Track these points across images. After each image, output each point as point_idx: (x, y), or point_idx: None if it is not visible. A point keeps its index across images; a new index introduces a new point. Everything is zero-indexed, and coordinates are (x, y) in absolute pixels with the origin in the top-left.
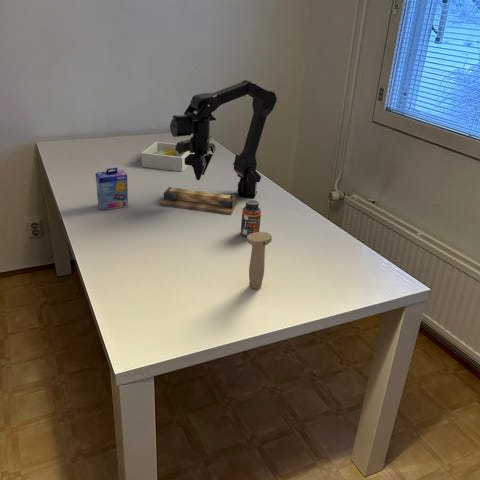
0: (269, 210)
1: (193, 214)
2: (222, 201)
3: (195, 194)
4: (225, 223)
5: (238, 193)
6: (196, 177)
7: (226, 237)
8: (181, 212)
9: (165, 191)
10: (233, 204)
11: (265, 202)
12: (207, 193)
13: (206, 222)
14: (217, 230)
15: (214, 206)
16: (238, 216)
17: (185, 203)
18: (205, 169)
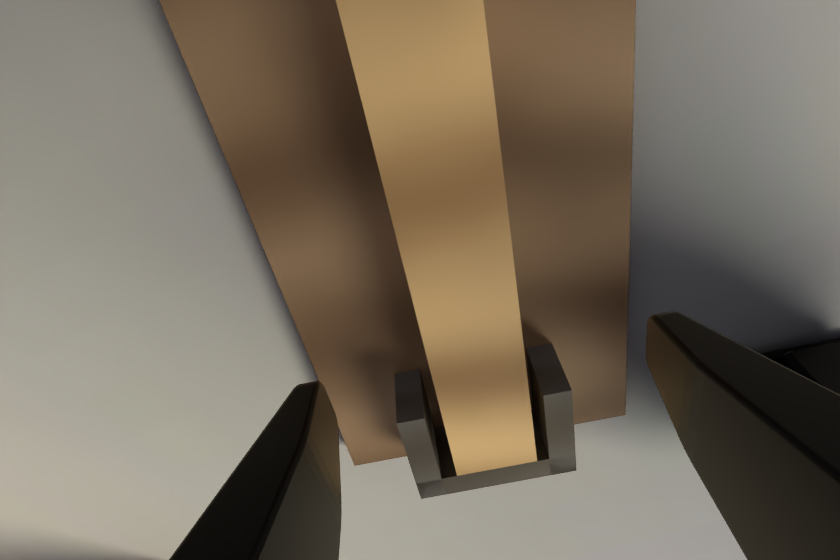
0: (544, 557)
1: (144, 228)
2: (401, 436)
3: (381, 171)
4: (196, 471)
5: (777, 358)
6: (272, 436)
7: (27, 539)
8: (81, 95)
9: None
10: None
11: (664, 511)
12: (479, 286)
13: (100, 381)
14: (58, 477)
15: (378, 340)
16: (357, 484)
17: (259, 48)
18: (711, 493)
